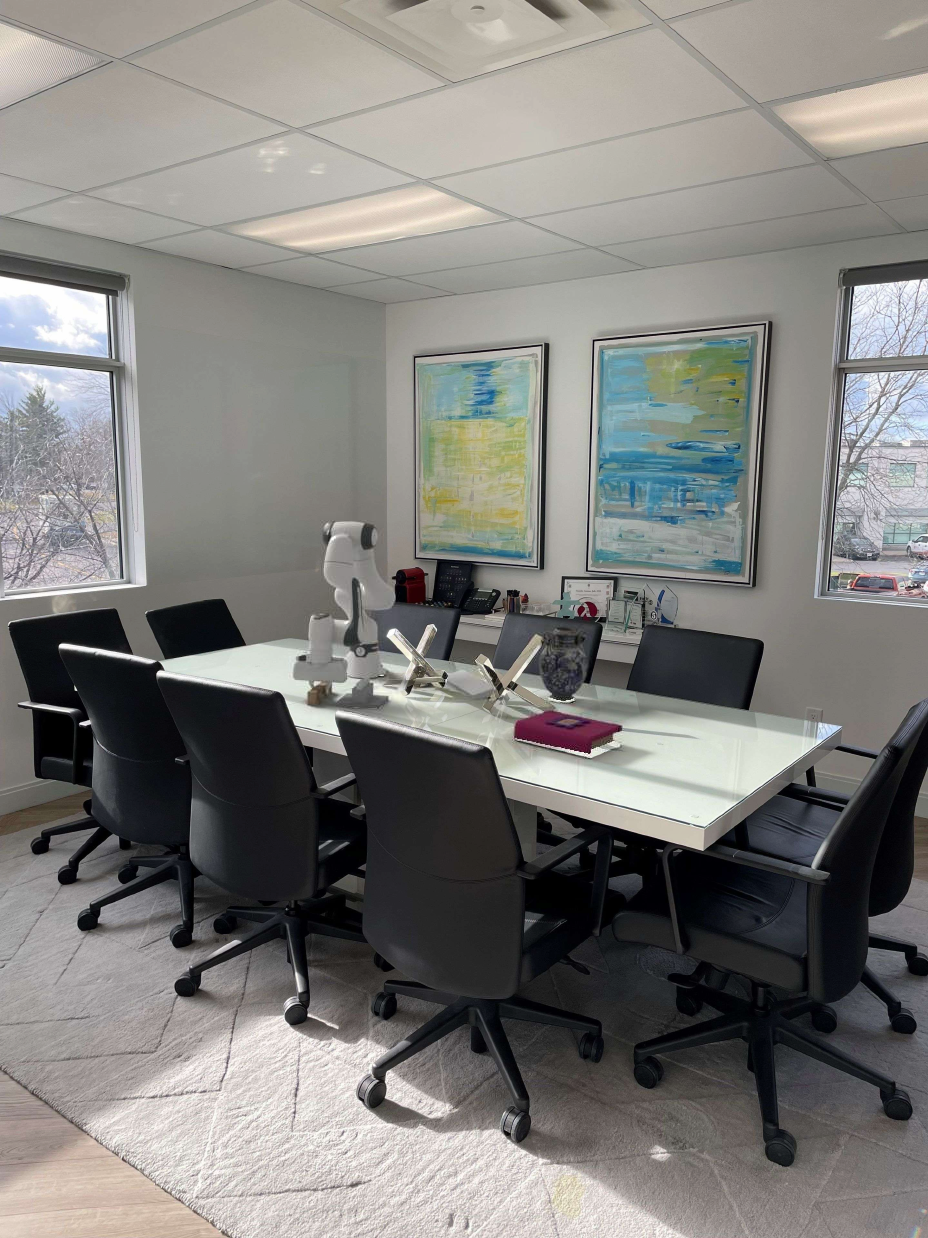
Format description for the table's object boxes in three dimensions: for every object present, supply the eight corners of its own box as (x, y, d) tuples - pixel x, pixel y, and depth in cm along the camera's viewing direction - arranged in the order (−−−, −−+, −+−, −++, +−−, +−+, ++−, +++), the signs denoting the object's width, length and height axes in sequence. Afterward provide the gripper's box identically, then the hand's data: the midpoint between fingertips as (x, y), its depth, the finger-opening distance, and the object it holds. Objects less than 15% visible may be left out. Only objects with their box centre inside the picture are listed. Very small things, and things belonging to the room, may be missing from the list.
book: (589, 761, 269) (590, 736, 268) (513, 742, 286) (514, 719, 285) (622, 747, 286) (624, 724, 285) (549, 730, 303) (550, 708, 302)
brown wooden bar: (324, 692, 346) (324, 679, 345) (331, 692, 345) (332, 679, 344) (307, 705, 324) (307, 692, 323) (315, 706, 324) (315, 692, 323)
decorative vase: (567, 692, 359) (571, 623, 354) (598, 702, 343) (602, 630, 339) (524, 697, 347) (528, 626, 342) (554, 709, 332) (559, 634, 327)
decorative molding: (475, 707, 342) (499, 698, 345) (473, 695, 341) (496, 687, 344) (443, 687, 373) (465, 680, 377) (441, 676, 372) (462, 669, 375)
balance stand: (347, 697, 338) (347, 675, 337) (388, 699, 336) (388, 677, 335) (335, 706, 324) (336, 683, 322) (379, 709, 321) (379, 686, 320)
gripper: (349, 656, 334) (349, 692, 336) (297, 653, 337) (296, 689, 339) (345, 659, 328) (344, 696, 330) (291, 656, 331) (291, 693, 333)
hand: (320, 692), depth 334 cm, fingers closed on brown wooden bar, 3 cm apart
